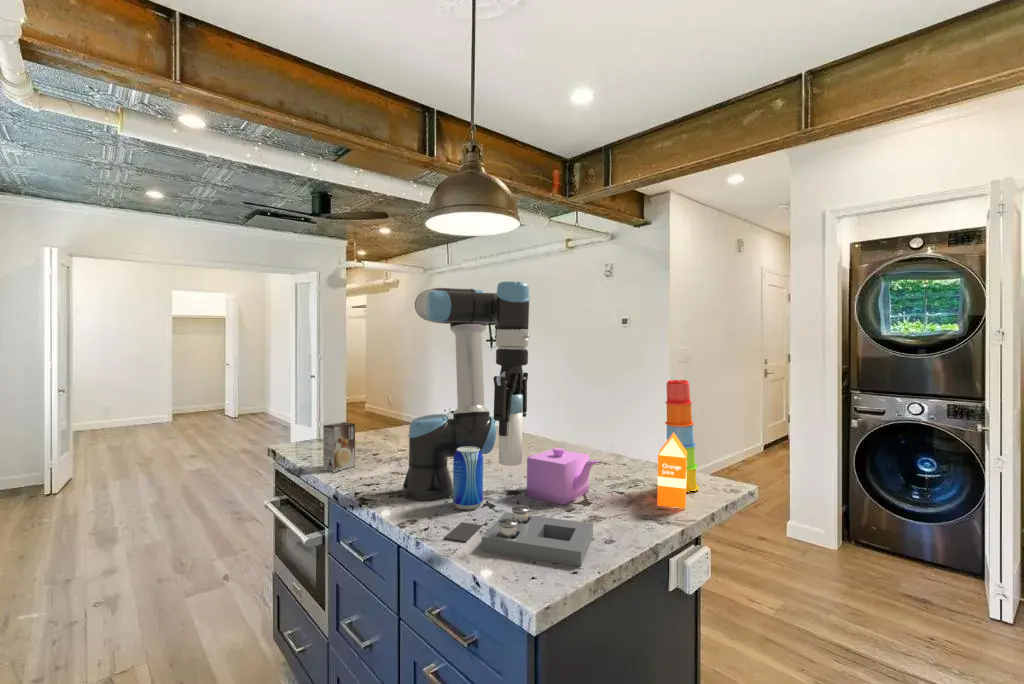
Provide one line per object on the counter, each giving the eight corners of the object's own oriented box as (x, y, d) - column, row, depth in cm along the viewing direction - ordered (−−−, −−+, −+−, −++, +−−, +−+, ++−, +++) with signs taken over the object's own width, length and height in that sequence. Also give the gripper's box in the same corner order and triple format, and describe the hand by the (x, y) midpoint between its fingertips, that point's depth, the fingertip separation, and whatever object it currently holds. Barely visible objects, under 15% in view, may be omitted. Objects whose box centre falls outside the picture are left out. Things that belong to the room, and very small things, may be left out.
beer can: (485, 509, 131) (486, 451, 131) (455, 511, 128) (456, 453, 128) (479, 499, 139) (479, 444, 139) (450, 501, 137) (451, 446, 136)
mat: (443, 539, 111) (443, 537, 111) (461, 523, 120) (461, 522, 120) (483, 545, 107) (483, 543, 107) (498, 529, 117) (498, 527, 117)
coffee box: (344, 464, 176) (344, 421, 176) (355, 467, 172) (355, 423, 172) (322, 470, 168) (323, 425, 168) (333, 472, 165) (334, 427, 165)
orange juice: (656, 506, 134) (657, 436, 134) (659, 496, 143) (659, 430, 143) (686, 510, 132) (686, 438, 132) (686, 500, 140) (687, 432, 140)
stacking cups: (691, 495, 144) (692, 382, 144) (659, 488, 151) (660, 380, 151) (704, 488, 152) (705, 380, 152) (673, 481, 159) (674, 378, 159)
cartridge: (509, 467, 107) (510, 397, 107) (494, 461, 111) (495, 394, 111) (526, 462, 111) (527, 395, 111) (510, 457, 115) (512, 392, 115)
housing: (481, 552, 104) (481, 536, 104) (505, 525, 119) (505, 512, 119) (580, 569, 97) (581, 552, 97) (592, 538, 112) (593, 523, 112)
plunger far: (509, 528, 113) (509, 510, 113) (514, 522, 117) (515, 504, 117) (526, 531, 111) (526, 512, 111) (531, 524, 115) (531, 506, 115)
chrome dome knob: (496, 543, 104) (496, 523, 104) (502, 536, 108) (502, 517, 108) (514, 546, 103) (514, 526, 103) (520, 539, 107) (520, 519, 107)
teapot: (586, 511, 130) (587, 460, 130) (513, 493, 145) (514, 447, 145) (609, 496, 143) (610, 450, 143) (540, 481, 157) (540, 439, 157)
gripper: (508, 349, 101) (506, 457, 101) (542, 347, 117) (540, 440, 118) (478, 348, 104) (476, 453, 105) (515, 346, 120) (513, 436, 121)
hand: (510, 446), depth 111 cm, fingers closed on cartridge, 5 cm apart
